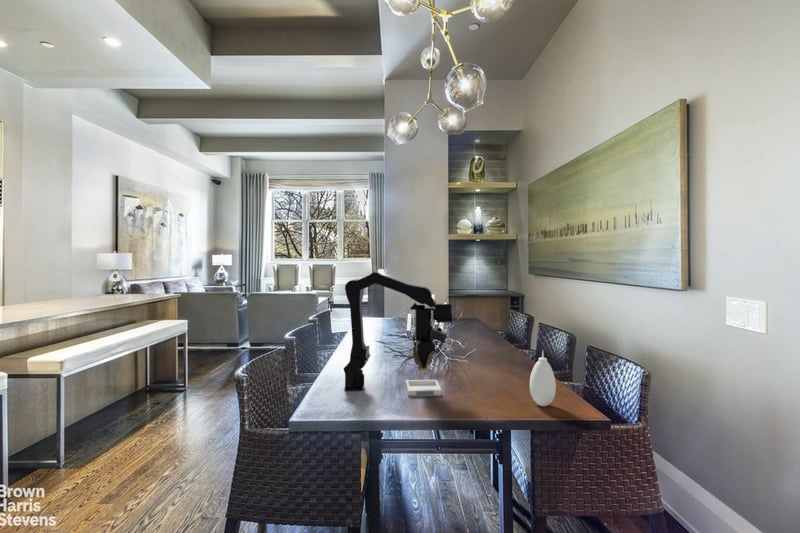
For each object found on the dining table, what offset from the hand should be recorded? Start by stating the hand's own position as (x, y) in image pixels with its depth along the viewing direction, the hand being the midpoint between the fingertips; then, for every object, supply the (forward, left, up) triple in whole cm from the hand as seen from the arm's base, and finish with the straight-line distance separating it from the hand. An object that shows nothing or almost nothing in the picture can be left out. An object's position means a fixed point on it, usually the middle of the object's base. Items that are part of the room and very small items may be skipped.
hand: (422, 365), depth 137 cm
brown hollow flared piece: (0, 0, -2) cm, 2 cm away
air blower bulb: (+37, -16, -9) cm, 42 cm away
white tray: (0, 0, -9) cm, 9 cm away
